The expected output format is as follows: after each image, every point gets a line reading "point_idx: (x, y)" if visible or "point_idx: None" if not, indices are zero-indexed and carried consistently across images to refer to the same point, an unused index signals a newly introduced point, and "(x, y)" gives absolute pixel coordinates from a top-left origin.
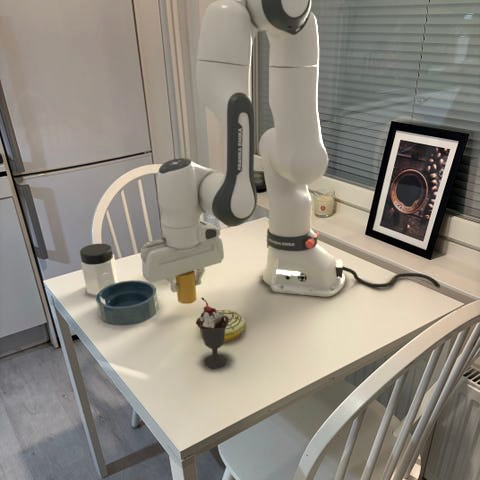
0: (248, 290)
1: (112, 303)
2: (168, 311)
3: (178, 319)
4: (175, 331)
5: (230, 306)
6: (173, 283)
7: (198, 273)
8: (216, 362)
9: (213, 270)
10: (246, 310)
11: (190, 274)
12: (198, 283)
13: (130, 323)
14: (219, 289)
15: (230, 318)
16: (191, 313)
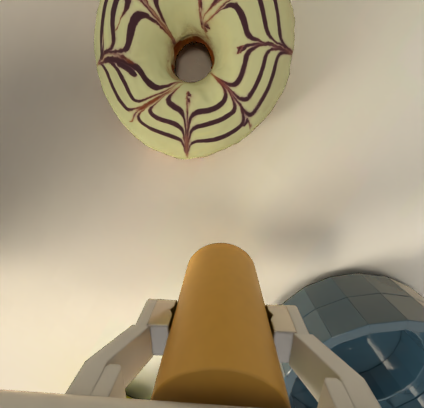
0: (11, 243)
1: (370, 381)
2: (262, 280)
3: (266, 229)
4: (313, 176)
5: (98, 198)
6: (318, 352)
7: (129, 362)
8: None
9: (62, 372)
10: (62, 145)
11: (208, 371)
12: (159, 304)
13: (397, 281)
14: (87, 293)
15: (152, 18)
16: (217, 235)
